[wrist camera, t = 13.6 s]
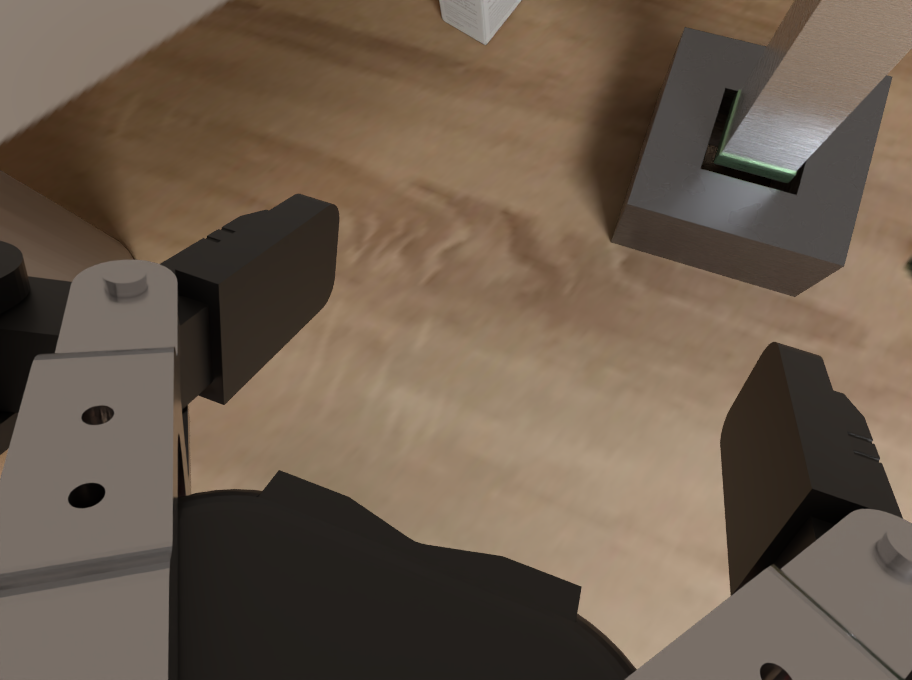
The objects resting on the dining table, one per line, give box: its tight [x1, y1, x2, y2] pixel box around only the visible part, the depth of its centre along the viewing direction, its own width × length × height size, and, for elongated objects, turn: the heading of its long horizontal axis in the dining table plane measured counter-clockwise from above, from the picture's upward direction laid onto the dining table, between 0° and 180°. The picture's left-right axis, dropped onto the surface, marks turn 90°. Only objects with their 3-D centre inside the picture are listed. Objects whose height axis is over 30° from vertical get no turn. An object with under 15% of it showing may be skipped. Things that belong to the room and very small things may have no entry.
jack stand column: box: [714, 0, 912, 183], centre depth 28 cm, size 5×5×17 cm
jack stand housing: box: [611, 27, 892, 297], centre depth 38 cm, size 12×12×6 cm
